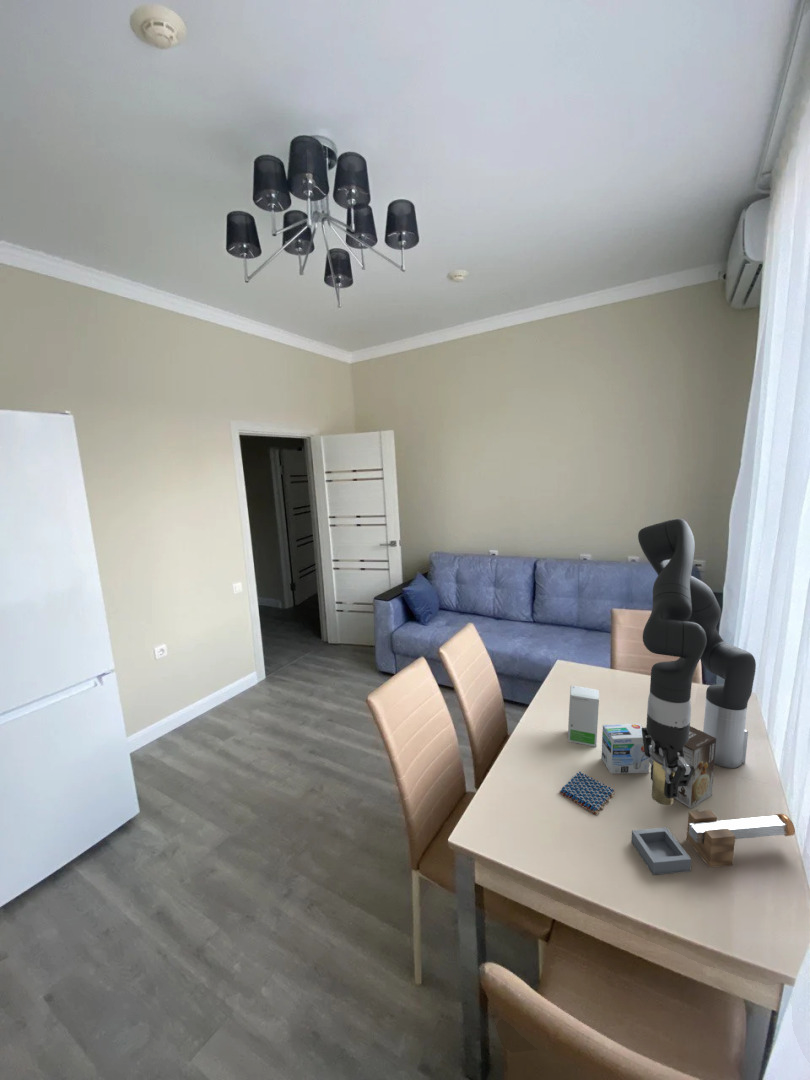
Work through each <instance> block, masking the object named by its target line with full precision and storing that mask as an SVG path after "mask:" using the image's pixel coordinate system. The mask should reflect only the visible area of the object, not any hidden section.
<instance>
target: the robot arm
mask: <svg viewBox="0 0 810 1080" xmlns="http://www.w3.org/2000/svg"><path fill="white" fill-rule="evenodd" d="M693 534H694V533H693V532H692V529H691V527H690V525H689V524H688V522H687V521H686V520H685V519H682V518H673V519H669V520H665V521H661V522H659V523H655V524H653V525H648V526H645V527H643V528H641V529H640V530H639V531H638V533H637V540H638V543H639V546H640V548H641V550H642V553H643V554H644V556H645V558H646V559H647V561H648V562H649V563H650V565H651V567H652V568H653V570H654V571H655V572H656V574H657V577H656V578H655V580H654V583H653V586H652V609H651V612H650V615H649V616H648V618H647V621H646V623H645V626H644V629H643V631H642V642H643V645H644V646H645V648H646V649H647V651H649V653H653V654H654V655H655V654H656V655H661V656H668V657H669V656H670V657H676V658H678V659H676V660H671V661H660V662H656V663H655V664H653V665H652V667H651V669H650V685H649V694H648V698H647V710H646V711H647V712H646V727H642V737H643V744H644V752H645V755H646V757H649V758H650V759H649V761H650V762H649V765H651V766H650V781H652V778H653V762H654V760H653V758H652V751H653V752H657V753H658V754H659V755H660V756H661V760H662V761H663V765H662V769H663V770H665V777H666V780H665V790H664V795H665V796H666V798H668V799H670V798H674V799H675V798H676V797H677V793H678V787H682V786H684V787H685V786H687V785H688V783H689V781H690V779H691V777H692V775H693V773H694V767H693V765H688V764H687V763H686V761H685V760H684V752H683V747H684V745H685V744H686V743H687V742H688V740H689V732H690V726H691V717H692V702H691V701H692V700H691V694H692V684H693V683H692V682H693V678H694V674H695V672H696V668H697V666H698V664H699V662H701V664H702V665H703V666H704V668H705V669H706V670H707V671H709V672H710V673H712V674H713V675H716V676H718V677H720V678H722V679H724V683H723V684H722V683H717V684H711V685H709V686H707V688H706V693H705V701H704V702H705V703H704V704H705V705H704V716H703V717H704V718H703V729H702V732H704V733H706V734H708V735H710V736H712V737H715V738H716V749H715V762H714V765H717V766H720V767H723V768H727V769H728V768H729V769H733V768H738V767H740V766H741V765H742V764H745V763H746V759H747V758H746V757H747V747H748V738H749V730H747V729H746V724H747V723H746V721H747V710H748V703H749V700H750V698H751V696H752V693H753V686H754V680H755V675H756V669H757V667H756V666H757V663H756V659H755V656H754V655H753V654H752V652H749V651H747V650H744V649H742V648H740V647H737V646H734V645H733V644H730V643H728V642H727V641H725V640H724V638H722V637H721V635H720V633H719V631H718V628H717V625H718V623H719V622H720V619H721V617H722V616H721V615H722V613H721V612H722V610H721V606H720V604H719V601H718V600H717V598H716V596H715V594H714V592H713V590H712V589H711V588H710V586H708V585H707V584H706V583H705V582H704V581H702V580H700V579H698V578H696V577H695V576H693V575H692V571H693V566H694V557H695V550H696V546H695V545H696V543H695V537H694V535H693ZM649 745H651V748H650V750H649ZM677 763H678V765H677V766H675V767H668V764H669V765H672V764H677ZM671 772H674V774H675V775H674V776H671Z"/></svg>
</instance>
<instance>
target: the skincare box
mask: <svg viewBox="0 0 810 1080" xmlns="http://www.w3.org/2000/svg"><path fill="white" fill-rule="evenodd" d="M569 687H570V689H569V703H568V704H569V707H568V709H569V710H568V725H567V726H568V727H567V728H568V729H567V741H568V742H570V743H575V744H580V745H586V746H589V747H590V746H591V747H595V748H596V747H597V741H598V726H599V725H598V723H599V722H598V721H599V706H600V691H599V689H595V688H589V687H586V686H577V685H573V684H572V685H570V686H569Z"/></svg>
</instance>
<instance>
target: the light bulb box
mask: <svg viewBox="0 0 810 1080" xmlns="http://www.w3.org/2000/svg"><path fill="white" fill-rule="evenodd" d="M642 728H643V727H642V726H641V724H640V723H639V722H638V723H637V722H636V723H619V724H603V725H602V732H601V733H602V735H601V738H602V739H601V755H600V756H601V760H602V762H603V763H604V765H605V766H606V768H607V769H608V771H609V773H610V774H611V775H616V774H622V775H623V774H648V773H650V761H649V759H650V758H649V757H646V755H645V752H644V744H643V737H642ZM650 749H651V745H649V750H650Z"/></svg>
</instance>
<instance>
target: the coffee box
mask: <svg viewBox="0 0 810 1080" xmlns="http://www.w3.org/2000/svg"><path fill="white" fill-rule="evenodd" d="M715 749H716V738H715V737H712V736H710V735H708V734H706V733H704V732H703V730H700V729H697V728H695V727H693V726H691V725H690V732H689V740H688V742H687V743H686V744H685V745H684V747H683V752H684V760H685V761H686V763H687V764H688V765H693V767H694V773H693V775H692V777H691V779H690V781H689V783H688V785H687V786H685V787H684V786H682V787H678V793H677V797H676V798H674V799H676V800H677V801H678V802H680V803H682V804H683V805H685V806H686V807H688V808H689V809H693V808H694V807H695V806H698V805H699V804H700V803H702V802H703V801H705V800H706V799H708V798H709V797H711V796H712V795H713V787H714V775H715V772H714V771H715V764H714V762H715Z"/></svg>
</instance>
